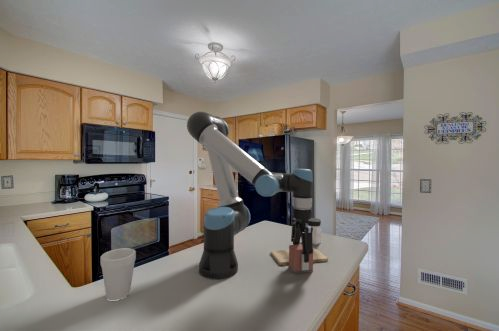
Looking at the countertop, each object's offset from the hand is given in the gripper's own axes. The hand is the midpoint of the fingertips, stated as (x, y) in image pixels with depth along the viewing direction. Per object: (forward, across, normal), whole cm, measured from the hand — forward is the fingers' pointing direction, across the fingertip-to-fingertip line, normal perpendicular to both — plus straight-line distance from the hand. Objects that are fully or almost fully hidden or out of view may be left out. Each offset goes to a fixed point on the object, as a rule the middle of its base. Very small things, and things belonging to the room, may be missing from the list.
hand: (300, 265), depth 91 cm
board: (+2, +10, -4) cm, 11 cm away
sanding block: (+2, 0, 0) cm, 2 cm away
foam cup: (+2, -6, +64) cm, 64 cm away
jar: (+2, +28, -20) cm, 34 cm away
